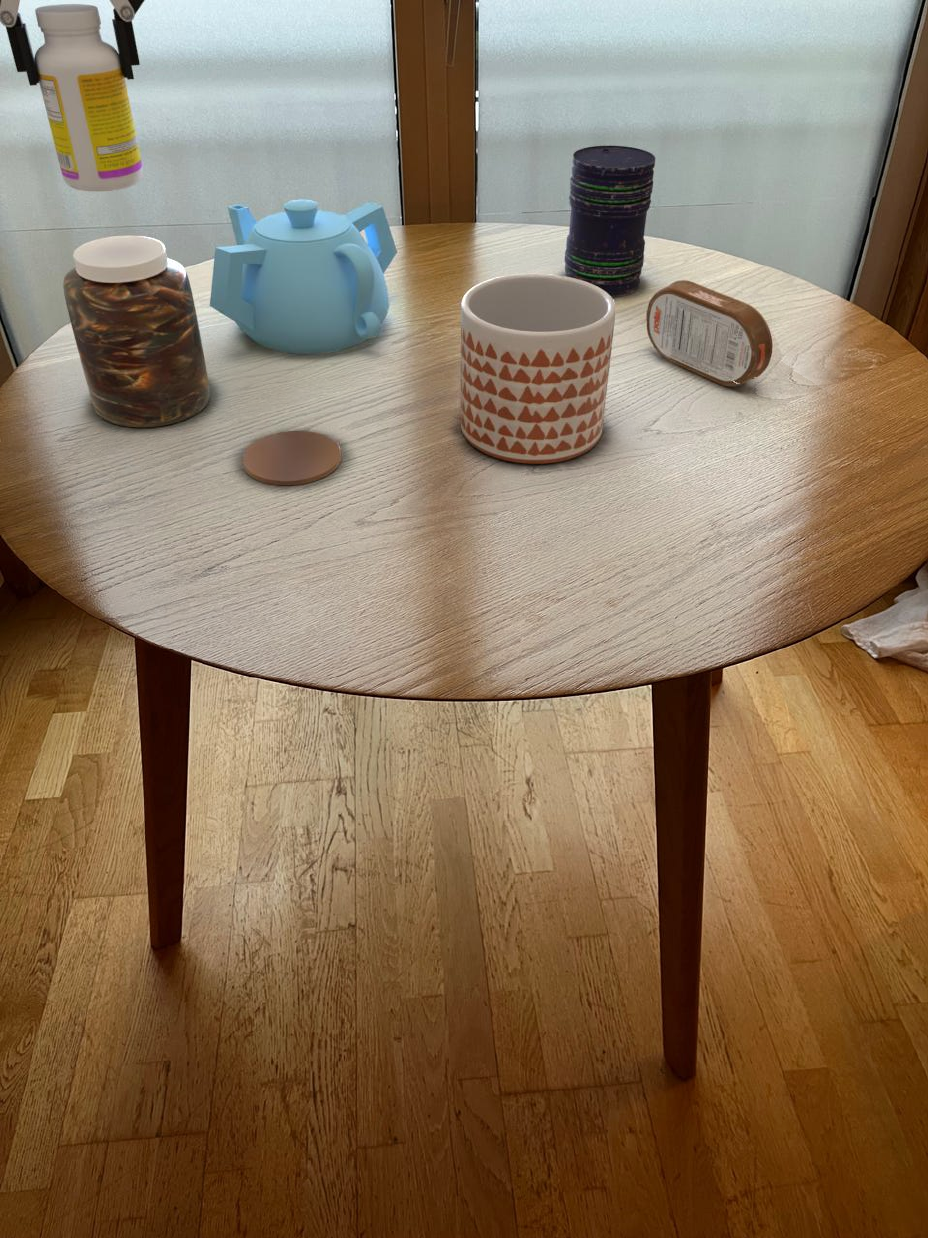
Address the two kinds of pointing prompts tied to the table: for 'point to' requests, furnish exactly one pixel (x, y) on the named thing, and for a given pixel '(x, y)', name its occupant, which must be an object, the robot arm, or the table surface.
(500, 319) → the planter
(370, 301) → the teapot
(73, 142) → the supplement bottle
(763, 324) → the tin
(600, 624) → the table surface
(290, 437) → the brown coaster
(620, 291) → the storage jar
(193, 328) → the jar
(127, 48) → the robot arm
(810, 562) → the table surface
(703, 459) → the table surface
